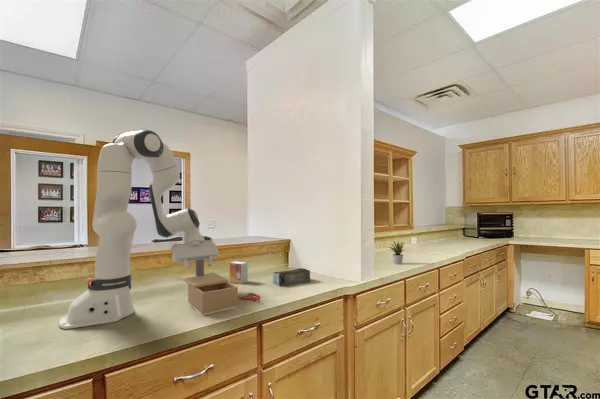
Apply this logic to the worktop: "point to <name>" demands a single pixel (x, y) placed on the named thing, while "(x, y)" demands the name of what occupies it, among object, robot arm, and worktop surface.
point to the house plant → (397, 253)
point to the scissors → (253, 298)
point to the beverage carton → (291, 277)
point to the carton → (213, 297)
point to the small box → (238, 272)
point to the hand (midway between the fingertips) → (199, 266)
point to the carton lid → (203, 277)
